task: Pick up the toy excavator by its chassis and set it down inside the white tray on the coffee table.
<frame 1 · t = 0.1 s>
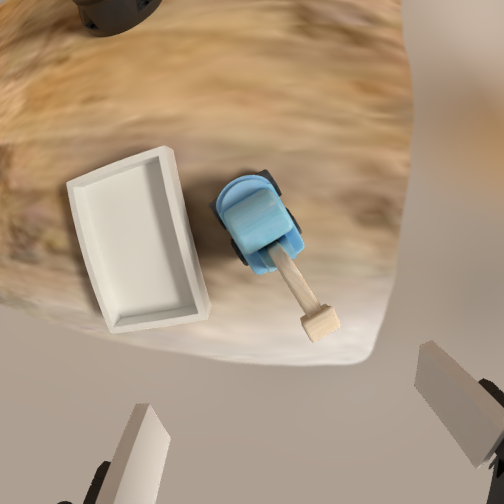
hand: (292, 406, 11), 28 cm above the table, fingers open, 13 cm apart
white tray: (144, 241, 37), on the table
toy excavator: (265, 234, 38), on the table
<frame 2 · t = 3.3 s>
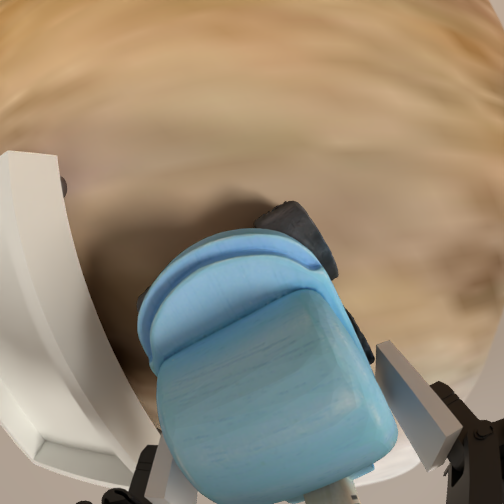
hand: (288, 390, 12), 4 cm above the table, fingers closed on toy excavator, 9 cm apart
white tray: (44, 339, 15), on the table
toy excavator: (284, 348, 16), on the table, touching gripper
when the fingers open (7 cm above the table, at t = 10.8 s): toy excavator drops 1 cm, resting on white tray.
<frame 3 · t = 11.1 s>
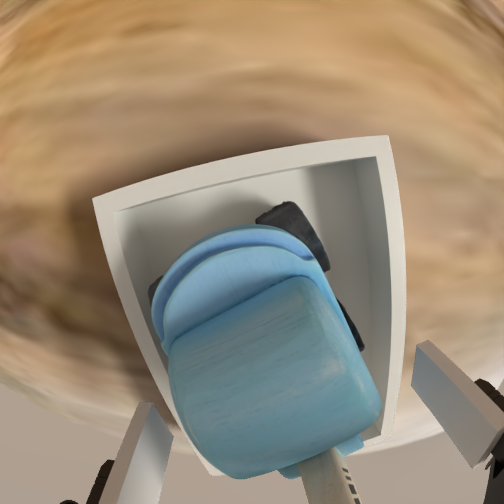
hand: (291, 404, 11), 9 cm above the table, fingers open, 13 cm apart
white tray: (273, 322, 19), on the table
toy excavator: (281, 337, 17), point 2 cm above the table, touching white tray
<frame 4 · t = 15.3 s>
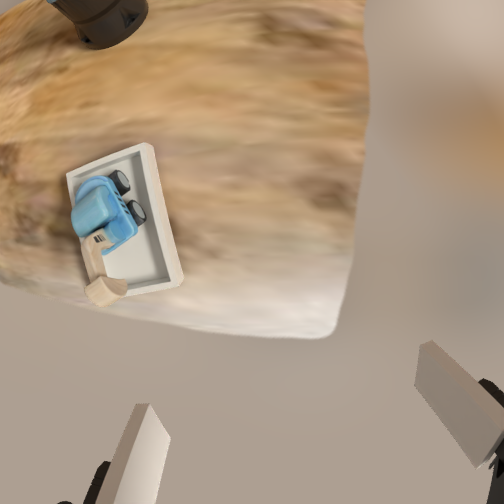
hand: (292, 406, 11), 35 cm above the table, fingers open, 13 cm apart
white tray: (129, 222, 43), on the table
toy excavator: (125, 224, 41), point 2 cm above the table, touching white tray
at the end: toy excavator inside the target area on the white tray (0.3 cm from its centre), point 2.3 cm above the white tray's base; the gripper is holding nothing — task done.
